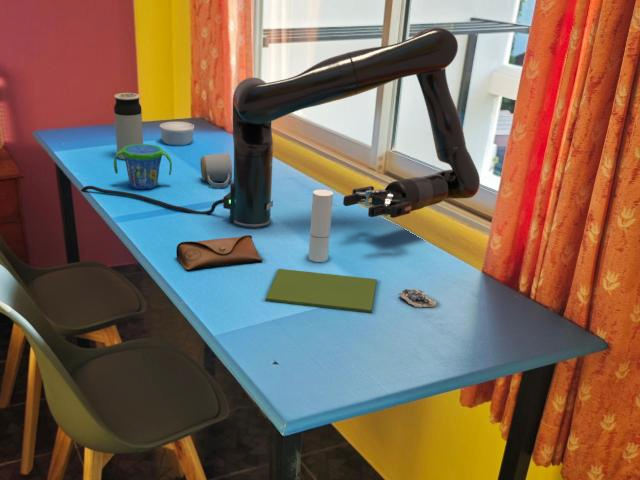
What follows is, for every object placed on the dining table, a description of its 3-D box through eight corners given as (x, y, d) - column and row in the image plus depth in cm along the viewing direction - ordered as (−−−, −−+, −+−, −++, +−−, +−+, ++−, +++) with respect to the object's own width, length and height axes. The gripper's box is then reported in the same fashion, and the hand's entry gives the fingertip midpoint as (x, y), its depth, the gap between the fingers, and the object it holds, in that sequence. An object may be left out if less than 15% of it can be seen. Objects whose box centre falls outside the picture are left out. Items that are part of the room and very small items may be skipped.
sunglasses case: (187, 270, 164) (182, 238, 163) (179, 274, 170) (174, 244, 170) (265, 260, 170) (260, 229, 169) (255, 264, 176) (250, 235, 176)
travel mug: (149, 156, 237) (146, 95, 227) (132, 162, 231) (128, 99, 221) (129, 151, 240) (125, 91, 231) (112, 157, 235) (107, 95, 225)
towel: (265, 300, 154) (265, 298, 153) (278, 271, 166) (278, 268, 166) (371, 312, 150) (371, 310, 150) (376, 281, 163) (376, 279, 163)
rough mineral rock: (409, 289, 160) (410, 280, 159) (444, 300, 156) (445, 292, 155) (392, 299, 156) (393, 291, 155) (427, 311, 152) (429, 303, 150)
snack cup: (175, 181, 217) (174, 144, 211) (169, 193, 208) (167, 155, 202) (120, 178, 217) (117, 142, 212) (111, 190, 208) (109, 152, 203)
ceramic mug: (199, 177, 220) (199, 150, 216) (227, 176, 222) (228, 149, 218) (206, 189, 212) (205, 161, 207) (235, 188, 213) (235, 160, 209)
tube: (326, 262, 171) (331, 196, 163) (307, 260, 171) (311, 194, 163) (328, 255, 174) (334, 190, 166) (309, 253, 175) (314, 188, 167)
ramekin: (193, 147, 247) (192, 130, 244) (158, 146, 247) (157, 129, 244) (195, 138, 256) (195, 121, 254) (162, 137, 256) (161, 120, 254)
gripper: (390, 171, 183) (337, 181, 175) (433, 187, 173) (380, 199, 165) (386, 201, 187) (334, 213, 179) (428, 219, 177) (376, 232, 169)
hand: (356, 206), depth 172 cm, fingers open, 8 cm apart
